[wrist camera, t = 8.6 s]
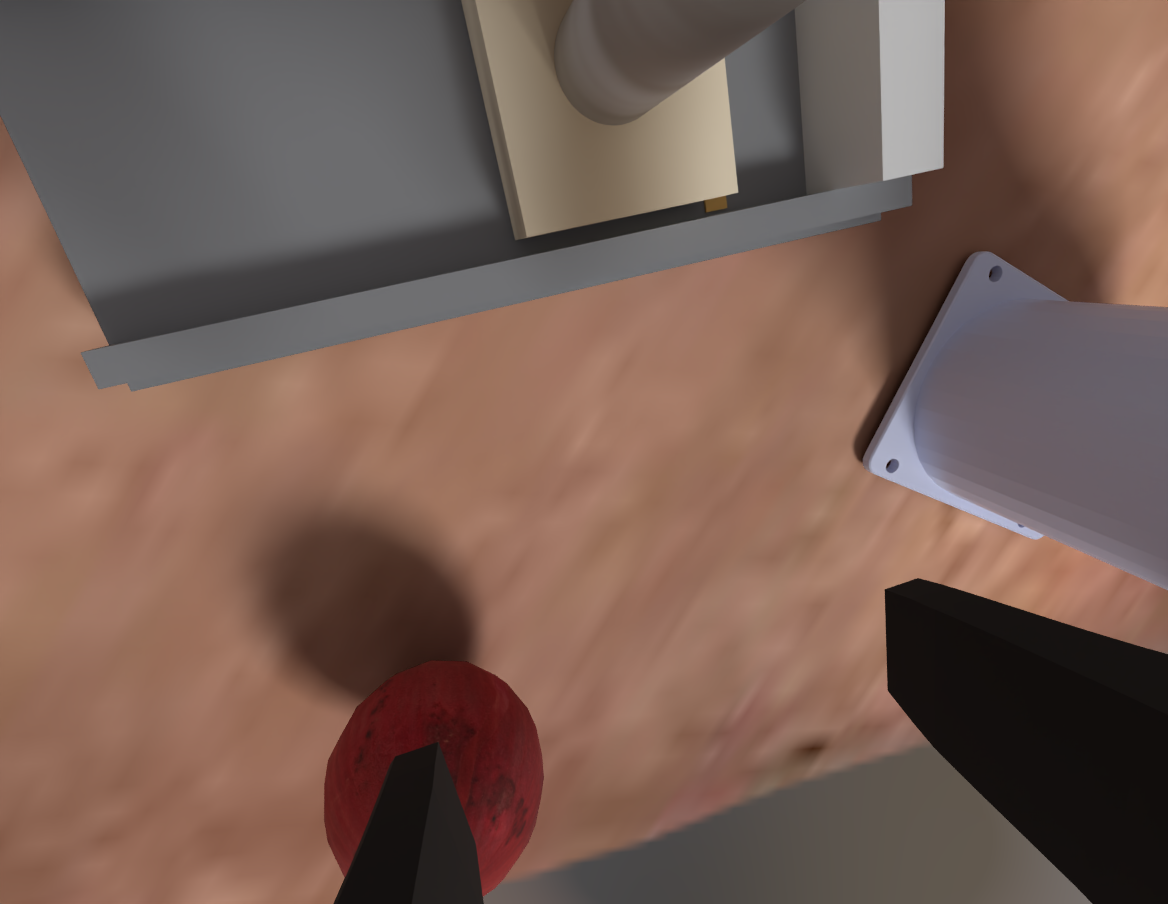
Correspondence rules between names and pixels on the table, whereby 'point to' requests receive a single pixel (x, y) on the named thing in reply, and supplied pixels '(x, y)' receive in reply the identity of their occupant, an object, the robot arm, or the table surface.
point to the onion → (469, 745)
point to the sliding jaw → (610, 102)
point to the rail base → (398, 165)
